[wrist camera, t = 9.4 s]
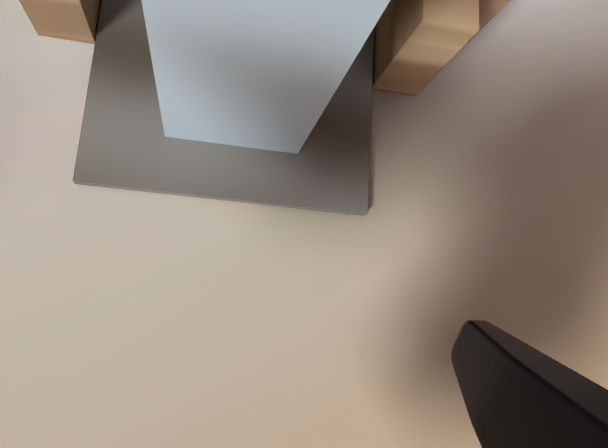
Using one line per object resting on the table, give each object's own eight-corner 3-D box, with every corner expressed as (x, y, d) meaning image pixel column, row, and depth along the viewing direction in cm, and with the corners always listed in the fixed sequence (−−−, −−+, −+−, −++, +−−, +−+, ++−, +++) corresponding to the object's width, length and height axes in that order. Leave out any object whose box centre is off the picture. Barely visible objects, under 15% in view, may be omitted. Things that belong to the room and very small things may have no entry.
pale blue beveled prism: (297, 154, 19) (408, -29, 9) (164, 136, 18) (126, -88, 8) (305, 37, 20) (412, -241, 10) (179, 15, 19) (162, -315, 9)
